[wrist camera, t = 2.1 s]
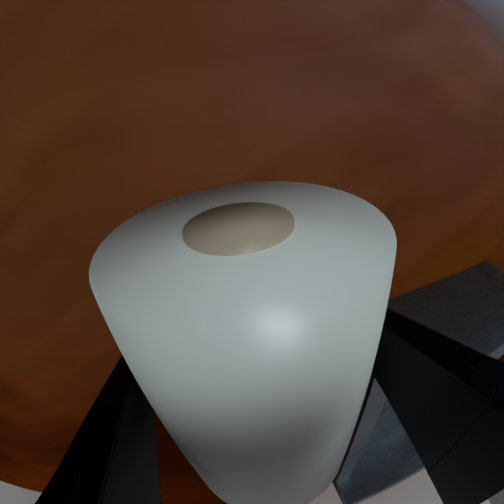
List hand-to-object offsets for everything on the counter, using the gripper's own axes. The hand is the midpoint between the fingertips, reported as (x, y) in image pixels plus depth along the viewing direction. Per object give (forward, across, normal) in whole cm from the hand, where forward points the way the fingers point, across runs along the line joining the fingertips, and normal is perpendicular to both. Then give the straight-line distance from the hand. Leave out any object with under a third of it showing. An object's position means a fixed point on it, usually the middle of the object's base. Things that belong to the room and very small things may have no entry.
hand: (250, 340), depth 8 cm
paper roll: (+2, +1, +1) cm, 2 cm away
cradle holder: (+2, -8, +9) cm, 12 cm away
